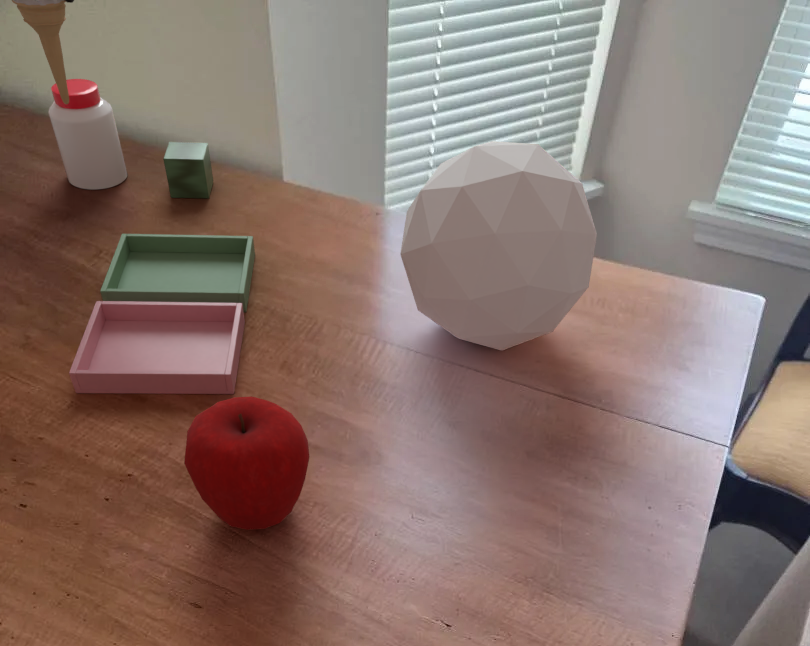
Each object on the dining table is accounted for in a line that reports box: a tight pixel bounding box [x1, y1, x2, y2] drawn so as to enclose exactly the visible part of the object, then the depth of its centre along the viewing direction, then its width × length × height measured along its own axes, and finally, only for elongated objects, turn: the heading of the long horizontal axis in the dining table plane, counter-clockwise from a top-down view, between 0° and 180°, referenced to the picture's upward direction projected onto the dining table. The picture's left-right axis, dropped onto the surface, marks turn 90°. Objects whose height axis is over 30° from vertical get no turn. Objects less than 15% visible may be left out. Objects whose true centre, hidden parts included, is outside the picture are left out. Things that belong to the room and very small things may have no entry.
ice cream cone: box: [11, 0, 69, 104], centre depth 76 cm, size 6×6×15 cm
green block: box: [163, 141, 214, 199], centre depth 99 cm, size 5×5×5 cm
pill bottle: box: [48, 78, 128, 191], centre depth 97 cm, size 8×8×11 cm
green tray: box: [100, 233, 256, 313], centre depth 85 cm, size 15×12×2 cm
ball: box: [399, 140, 598, 351], centre depth 76 cm, size 19×20×20 cm
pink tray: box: [68, 300, 246, 395], centre depth 76 cm, size 15×12×2 cm
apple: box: [183, 395, 310, 531], centre depth 60 cm, size 10×10×11 cm
